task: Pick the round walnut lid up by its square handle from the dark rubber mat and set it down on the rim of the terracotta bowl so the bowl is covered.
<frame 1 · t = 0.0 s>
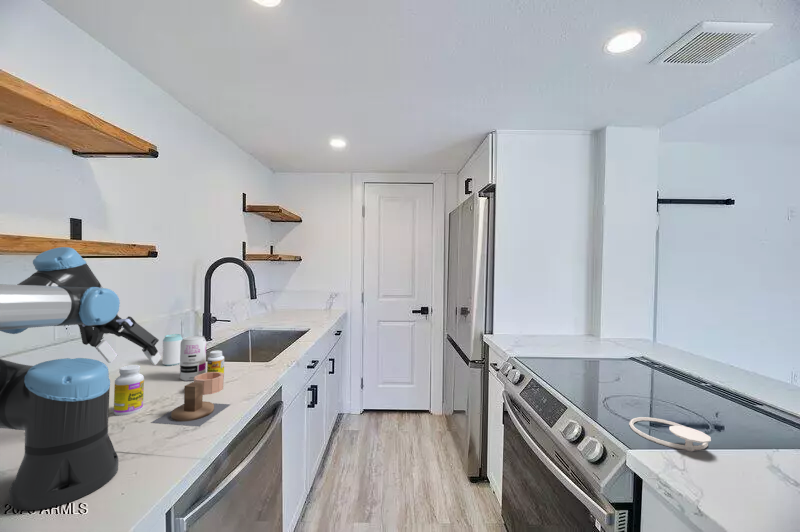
hand: (135, 360, 96), 15 cm above the worktop, tool tilted 35°, fingers open, 13 cm apart
supplement bottle 2: (215, 379, 126), on the worktop
hand towel holder: (671, 438, 91), on the worktop
mat: (193, 414, 97), on the worktop
supplement bottle: (128, 412, 98), on the worktop
bowl: (208, 390, 114), on the worktop
can: (172, 364, 143), on the worktop
lid: (193, 412, 97), resting on mat
supplement can: (192, 378, 127), on the worktop
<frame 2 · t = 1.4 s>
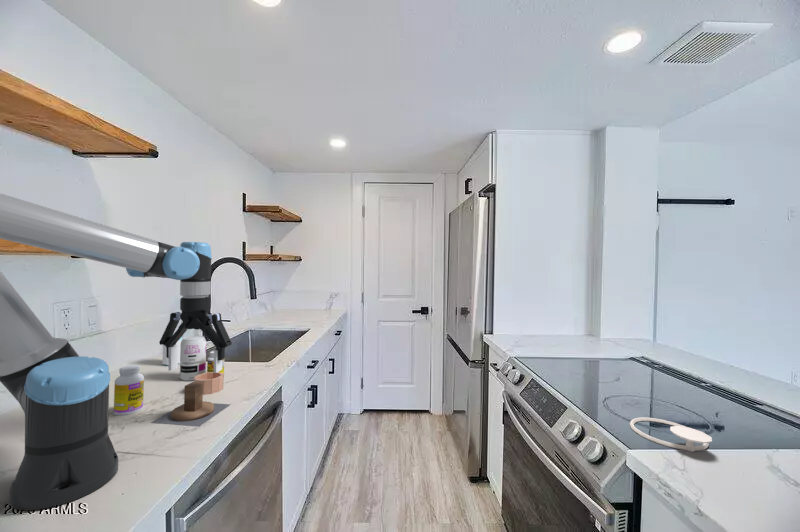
hand: (195, 370, 97), 13 cm above the worktop, tool pointing down, fingers open, 13 cm apart
nothing on the worktop moved.
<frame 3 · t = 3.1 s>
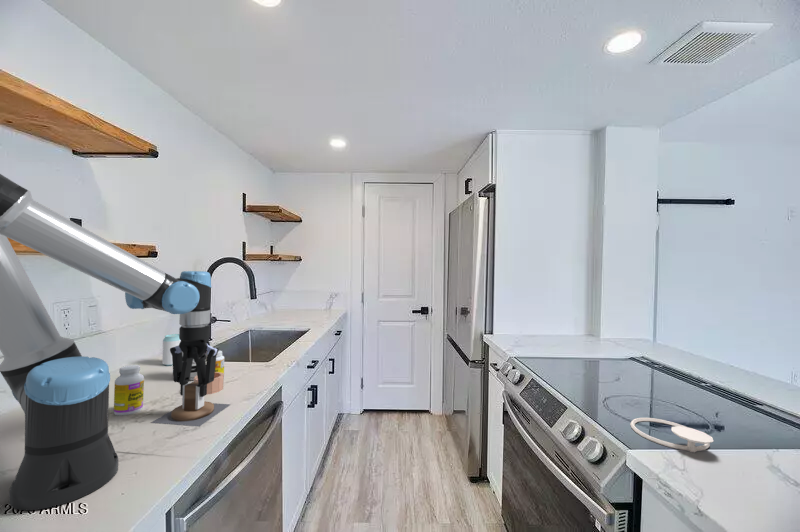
hand: (193, 406, 97), 2 cm above the worktop, tool pointing down, fingers closed on lid, 3 cm apart
lid: (193, 412, 97), resting on mat, touching gripper
everything else where it was.
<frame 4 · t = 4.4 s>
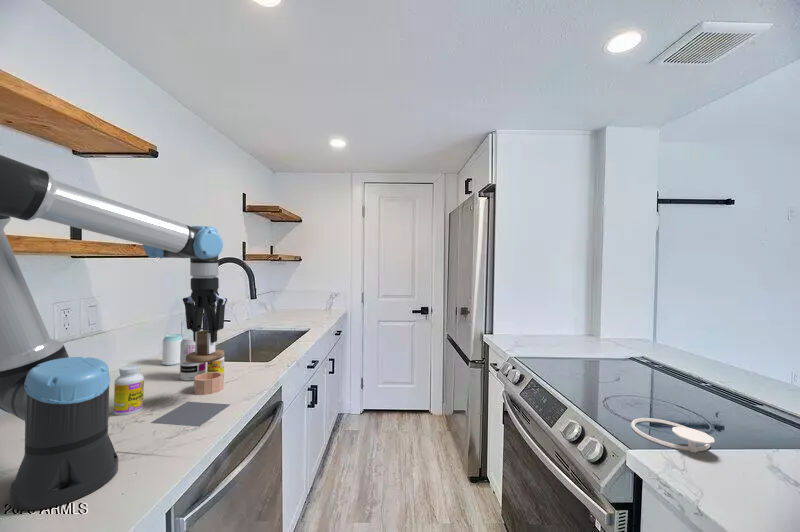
hand: (205, 352, 105), 16 cm above the worktop, tool pointing down, fingers closed on lid, 3 cm apart
lid: (205, 357, 105), point 14 cm above the worktop, touching gripper
everything else where it was.
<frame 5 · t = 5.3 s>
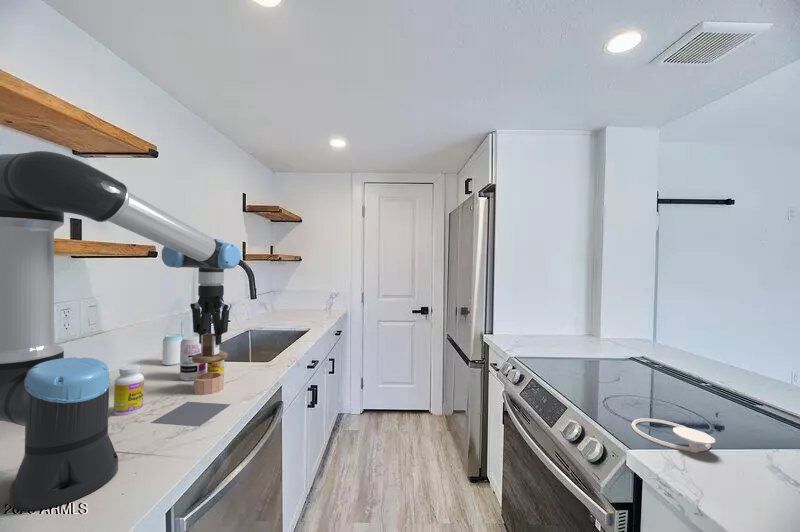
hand: (210, 353, 115), 13 cm above the worktop, tool pointing down, fingers closed on lid, 3 cm apart
lid: (210, 358, 115), point 11 cm above the worktop, touching gripper
everything else where it was.
when the fingers open (8 cm above the worktop, at t = 6.0 s): lid drops 1 cm, resting on bowl.
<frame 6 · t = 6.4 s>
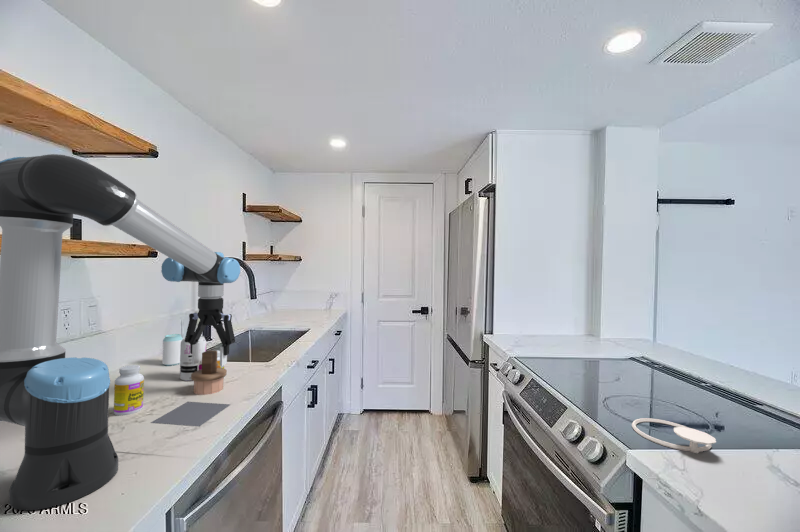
hand: (209, 363, 114), 9 cm above the worktop, tool pointing down, fingers open, 9 cm apart
lid: (209, 376, 114), point 5 cm above the worktop, touching bowl
everything else where it was.
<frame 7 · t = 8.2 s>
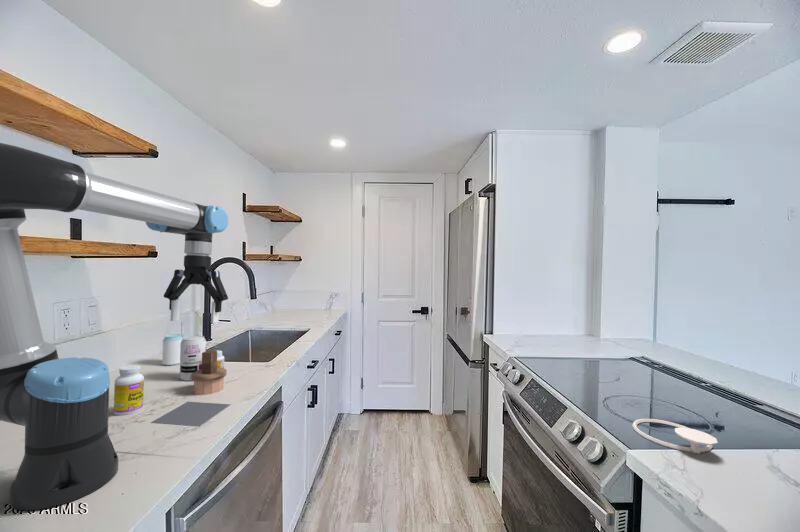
hand: (194, 321, 108), 24 cm above the worktop, tool pointing down, fingers open, 13 cm apart
nothing on the worktop moved.
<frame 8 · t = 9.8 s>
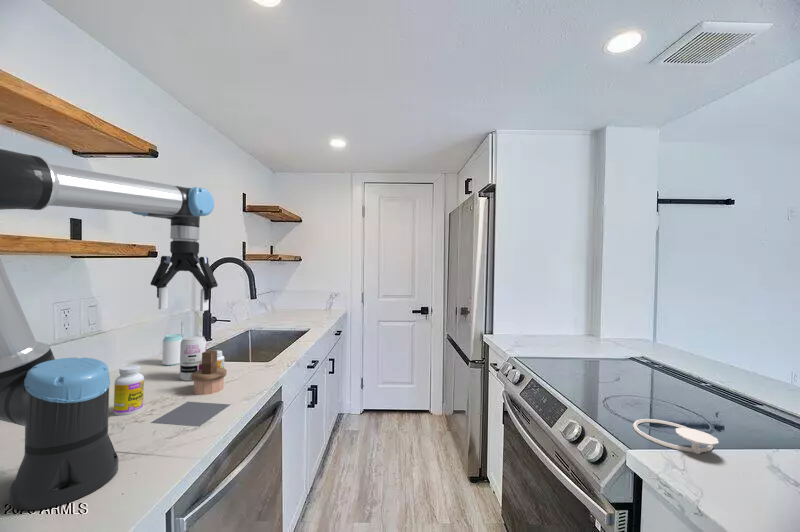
hand: (183, 309, 104), 29 cm above the worktop, tool pointing down, fingers open, 13 cm apart
at the end: lid 0.0 cm off-centre on the bowl, point 5.0 cm above the bowl's base; lid tilted 0°; the gripper is holding nothing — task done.
